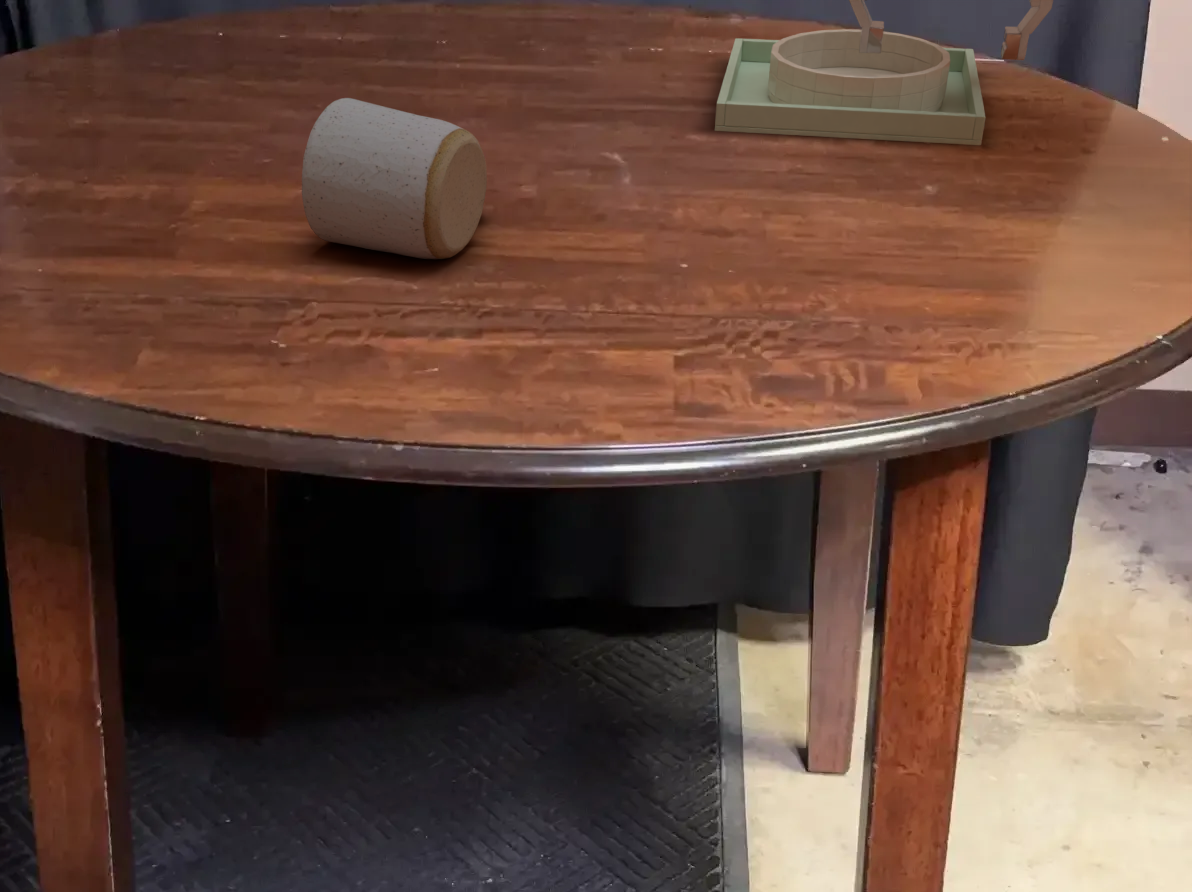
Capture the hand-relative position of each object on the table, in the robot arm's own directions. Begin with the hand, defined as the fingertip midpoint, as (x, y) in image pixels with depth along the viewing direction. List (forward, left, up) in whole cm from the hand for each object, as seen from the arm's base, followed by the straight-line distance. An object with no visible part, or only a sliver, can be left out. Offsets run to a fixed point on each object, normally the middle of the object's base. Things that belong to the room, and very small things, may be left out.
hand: (940, 54), depth 103 cm
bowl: (+5, 0, -3) cm, 6 cm away
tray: (+6, 0, -4) cm, 7 cm away
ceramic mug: (+30, +30, -4) cm, 42 cm away
